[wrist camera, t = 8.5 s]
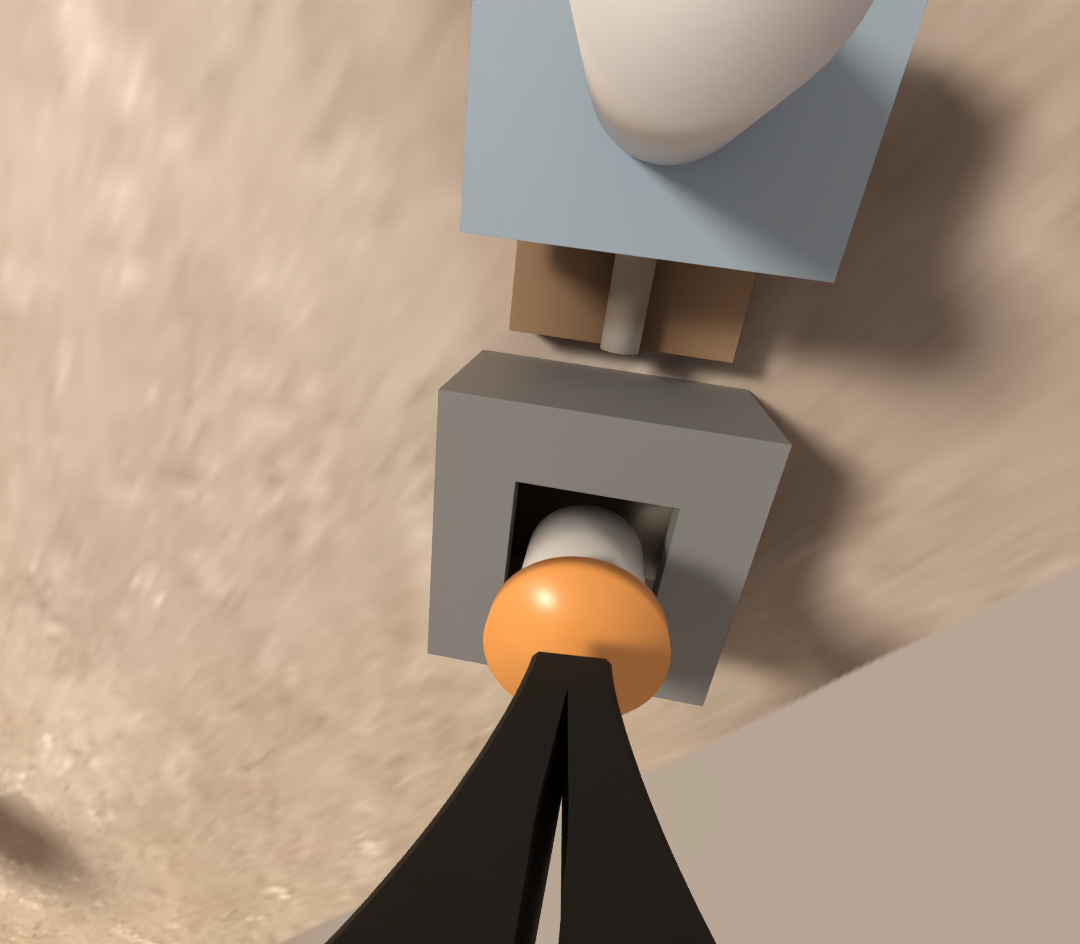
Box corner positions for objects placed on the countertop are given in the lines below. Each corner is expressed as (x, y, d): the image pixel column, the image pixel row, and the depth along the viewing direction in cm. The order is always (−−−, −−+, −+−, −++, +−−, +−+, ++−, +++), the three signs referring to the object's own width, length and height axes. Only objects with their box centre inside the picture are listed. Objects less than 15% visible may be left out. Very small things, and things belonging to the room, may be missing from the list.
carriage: (908, -94, 9) (1425, -666, 3) (798, 273, 12) (979, 318, 6) (511, -128, 10) (344, -681, 4) (485, 231, 12) (361, 233, 6)
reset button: (673, 504, 13) (691, 593, 10) (642, 624, 15) (649, 735, 12) (521, 478, 14) (490, 557, 10) (507, 600, 15) (476, 701, 12)
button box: (747, 389, 16) (791, 445, 12) (682, 614, 20) (699, 716, 15) (482, 350, 17) (438, 389, 12) (466, 575, 20) (427, 663, 16)
